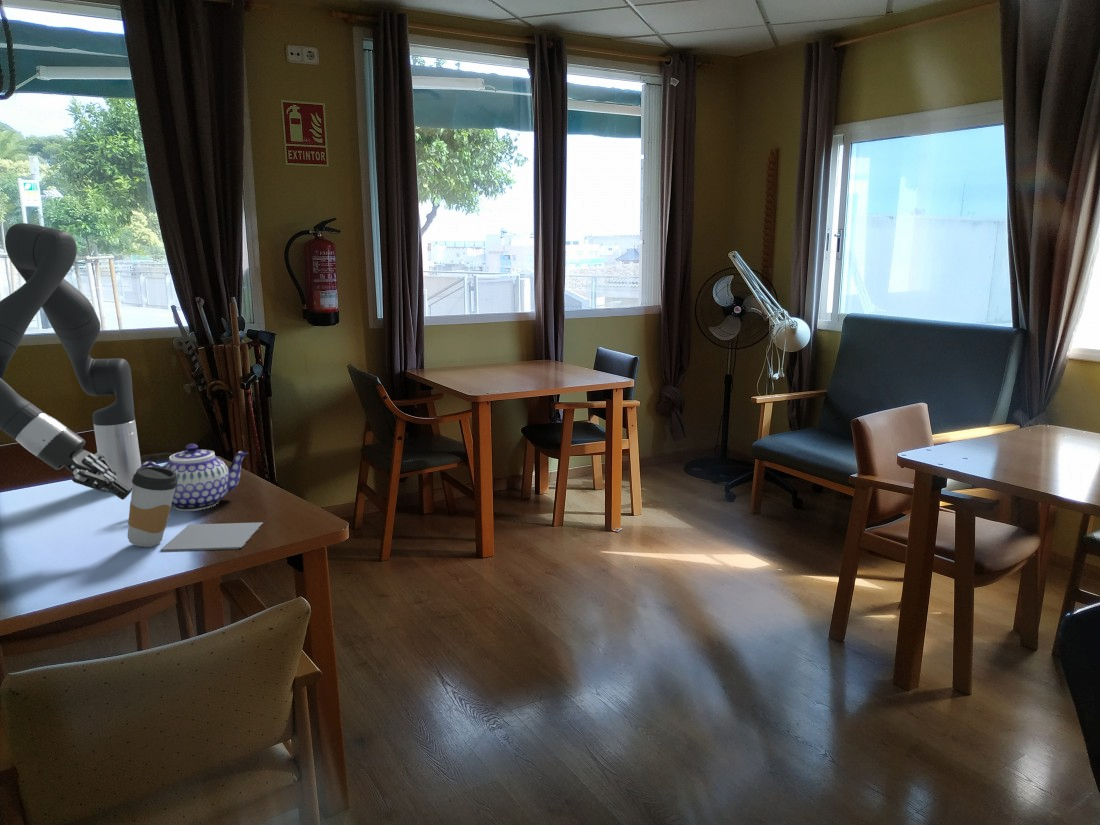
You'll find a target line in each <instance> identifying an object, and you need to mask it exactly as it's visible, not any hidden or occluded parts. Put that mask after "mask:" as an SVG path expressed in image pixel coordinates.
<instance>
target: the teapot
mask: <svg viewBox="0 0 1100 825" xmlns="http://www.w3.org/2000/svg"><path fill="white" fill-rule="evenodd" d="M198 448H199V446H198V445H197V444H195V443H188V444H187V445H185V450H182V451H179V452H176V453H173V454H171V455H169V457H168V458H169V460H168V461H167V462H166V463H165V464H164V465H163V466H161V465H159V464H157V463H156V462H154V461H150V460H148V461H145V462H143V464H141V467H148V466H154V467H162V468H167V469H170V470H172V471H174V472H175V473H176V477H177V479H178V481H177V487H176V488H175V492H174V496H173V500H172V503H171V506H173V507H174V509H175V510H176V511H181V512H195V511H196V512H197V511H201V510H202V509H203V510H206V508H207V509H210V507H211V508H213V507H215V506H217V505H218V504H219V502H220V501H221V500H222V499H223V498H224V497H225V496H226V495H227V494H228V493H229V492H232V491H233V490H234V489H236V488H237V486H238V485H239V483H240V479H241V471H242V462H243V459H244V458H245V457H246V456H247V455H249V452H248V451H245V450H240V451H238V452H237V453H236V454H235V455H234V458H233V459H232V462H231V464H229V465H226V463H225V462H224V460H222V459H220V458H218V457H217V456H216V454H215V451H214V450H210V449H198ZM141 467H140V468H141ZM216 504H217V505H216ZM212 506H213V507H212Z"/></svg>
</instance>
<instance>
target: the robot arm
mask: <svg viewBox="0 0 1100 825" xmlns="http://www.w3.org/2000/svg"><path fill="white" fill-rule="evenodd" d="M4 245H5V250H6V253H7V256H8V258H9V260H10V262H11V264H12V265H13V266H14V268H15V269H16V271H17V272H18V273H19V275H20V276H21V277H22V279H23V280H24V282H25V283H24V284H22V285H21V286H20V287H19V288H17V289H16V290H14V291H13V292H12V293H10V294H9V295H7V296H6V297H4V298H3V299H1V300H0V431H2V432H4V433H5V434H6V435H8V436H9V437H11V438H12V439H13V440H15V441H16V442H18V444H20V445H21V446H22V447H23V448H24V449H25V450H26V451H28V452H29V453H31V454H32V455H34V456H35V457H36V458H38V459H40V460H41V461H43V462H44V463H45V464H46V465H48V466H50V467H51V468H53V469H54V470H56V471H57V470H61V469H63V468H64V467H65V469H67V471H69V473H72V474H73V475H74V476H73V478H71V481H72V482H73V483H75V484H77V485H82V486H84V487H87V488H91V489H93V490H97V491H105V490H106V492H110V493H111V494H112V495H114V496H116V497H117V498H119V499H120V500H122V501H123V500H125V499H126V498H127V497H128V496H129V495H130V494H132V489H131V488H132V485H133V483H132V479H133V476H134V474H135V473H136V471H137V469H139V468H140V467H141V466H142V460H141V453H140V447H139V439H138V438H139V437H138V431H137V424H136V415H135V405H134V396H133V395H134V394H133V380H132V379H133V378H132V377H133V376H132V370H131V366H130V364H129V362H128V361H127V359H125V358H121V357H120V358H118V357H117V358H92V357H91V355H90V353H91V350H92V349H93V346H94V345H95V343H96V342H97V340H98V337H99V336H100V333H101V322H100V319H99V317H98V314H97V312H96V310H95V308H94V306H93V304H92V302H91V301H90V300H89V299H88V297H86V296H85V294H83V293H82V291H80V290H79V289H78V288H77V287H75V286H74V285H73V284H72V283H70V282H69V281H68V280H66V279H65V278H66V276H67V275H68V274H69V272H70V270H71V269H72V267H73V266H74V263H75V260H76V258H77V253H78V252H77V251H78V250H77V249H78V248H77V243H76V241H75V238H74V237H73V236H72V234H71V233H69V232H67V231H65V230H62V229H58V228H53V227H48V226H43V225H37V224H34V223H26V222H25V223H22V222H19V223H15V224H12V225H11V226H10V227H9V228H8V229H7V231H6V234H5V237H4ZM41 308H42V310H43V311H44V315H45V317H46V319H47V321H48V322H49V324H50V325H51V328H52V329H53V331H54V333H55V335H56V337H57V338H58V340H59V341H60V343H61V344H62V347H63V348H64V350H65V352H66V354H67V356H68V358H69V360H70V363H71V366H72V368H73V370H74V373H75V376H76V378H77V381H78V383H79V385H80V387H81V389H82V390H83V392H84V393H86V395H87V396H92V397H105V396H115V401H114V402H113V403H111V404H110V405H108V406H105V407H103V408H100V409H98V410H96V411H93V413H92V423H93V430H94V437H95V443H96V451H97V452H96V453H94V454H93V452H91V451H88V450H86V449H84V446H85V445H86V440H85V439H84V438H83V437H81V436H80V435H79V434H77V433H76V432H74V431H73V430H72V429H70V428H69V427H68V426H66V425H65V424H64V423H63V422H60V421H59V420H58V419H56V418H55V417H53V416H51V415H49V414H47V413H45V412H44V411H43V410H41V408H38V407H37V406H36V405H35V404H33V403H32V402H30V401H28V400H27V399H26V398H24V397H23V396H21V395H20V394H19V393H17V391H15V390H14V388H12V387H11V385H9V384H8V383H7V382H6V381H5V380H4V378H3V377H4V375H5V372H6V370H7V369H8V368H7V367H8V365H9V363H10V361H11V360H12V358H13V356H14V354H16V351H17V350H18V347H19V345H20V344H21V341H22V339H23V337H24V335H25V333H26V331H27V330H28V328H29V326H30V324H31V323H32V321H33V319H34V318H35V317H36V315H37V314H38V312H40V310H41ZM101 489H102V490H101Z"/></svg>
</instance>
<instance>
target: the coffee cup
mask: <svg viewBox="0 0 1100 825" xmlns="http://www.w3.org/2000/svg"><path fill="white" fill-rule="evenodd" d="M177 481H178V479H177V477H176V473H175V472H174V471H172V470H170V469H167V468H162V467H154V466H147V467H141V468H139V469H137V471H136V473H135V474H134V476H133V479H132V483H133V485H132V489H131V495H130V496H131V498H130V502H129V513H128V521H127V522H128V523H127V524H128V527H127V528H128V530H127V540H128V542H129V543H130V544H132V545H135V546H137V547H146V548H147V547H153V546H158V545H159V544H161V543H160V542H161V541H163V537H164V533H165V530H166V527H167V523H168V520H169V516H170V512H171V508H172V505H171V503H172V500H173V496H174V492H175V488H176V487H177Z"/></svg>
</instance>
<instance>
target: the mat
mask: <svg viewBox="0 0 1100 825" xmlns="http://www.w3.org/2000/svg"><path fill="white" fill-rule="evenodd" d="M262 524H263V525H264V522H263V521H261V522H236V523H235V522H233V523H232V522H231V523H198V524H188V525H187V526H186V527H184V528H183V529H182V530H181V531H180V532H178V533H177V535H175V536H174V537H173V538H172V539H171V540H170V541H168V542H167V543H166V544H165V545H164V546H163V547H161V549H160V552H182V551H210V550H211V551H212V550H213V551H214V550H239V548H242V547H243V546H245V545H247V543H248V542H249V541H250V540H251V539H250V538H252V537H253V536H254V535H255V534H256V533H257V532H258V531H259V530H260V528H261V527H262V526H263V525H262ZM261 525H262V526H261ZM260 526H261V527H260ZM259 527H260V528H259ZM257 530H258V531H257ZM256 531H257V532H256ZM255 532H256V533H255ZM254 533H255V534H254ZM253 534H254V535H253ZM252 535H253V536H252ZM251 536H252V537H251ZM249 539H250V540H249ZM248 540H249V541H248ZM247 541H248V542H247ZM246 542H247V543H246ZM243 548H244V547H243ZM243 548H242V549H243Z"/></svg>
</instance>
